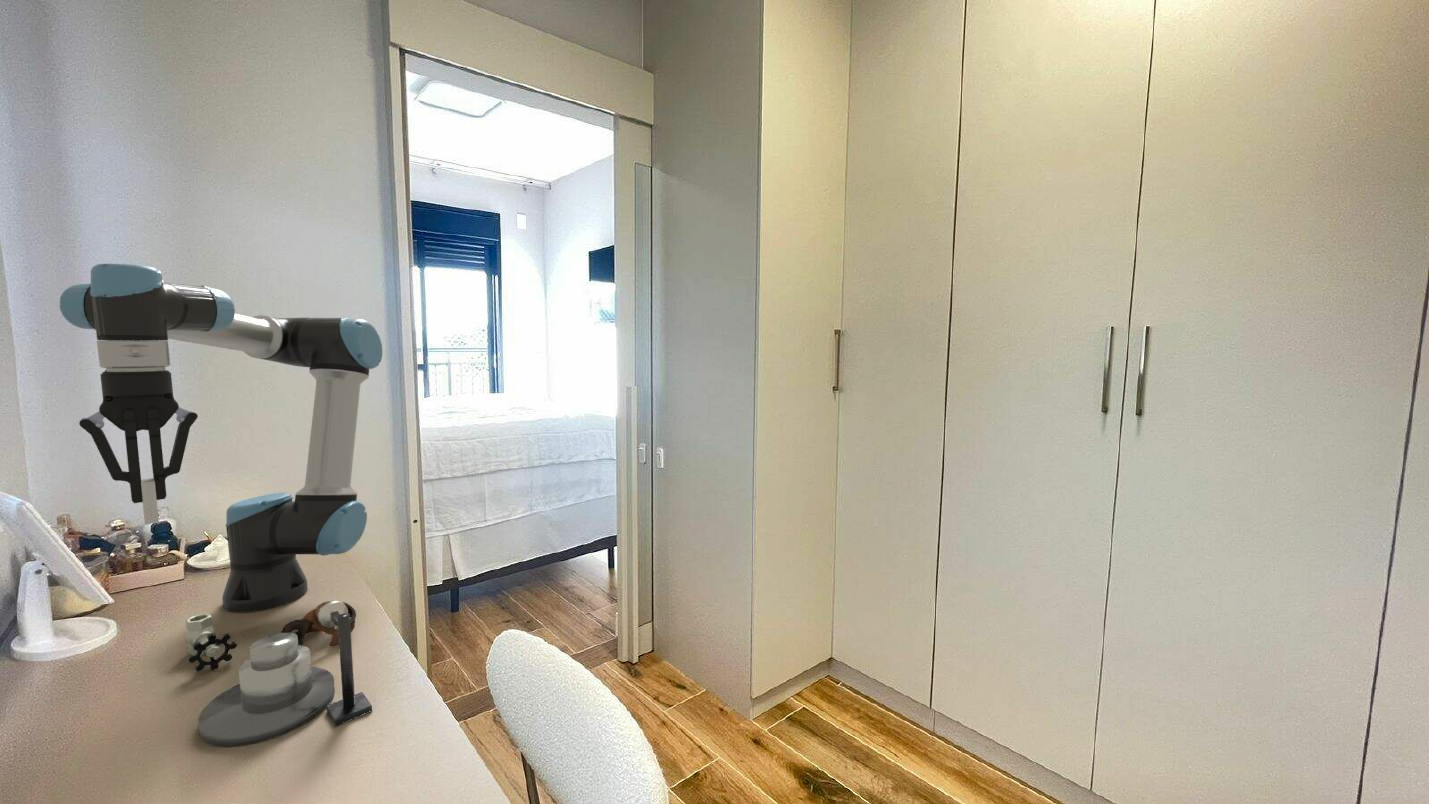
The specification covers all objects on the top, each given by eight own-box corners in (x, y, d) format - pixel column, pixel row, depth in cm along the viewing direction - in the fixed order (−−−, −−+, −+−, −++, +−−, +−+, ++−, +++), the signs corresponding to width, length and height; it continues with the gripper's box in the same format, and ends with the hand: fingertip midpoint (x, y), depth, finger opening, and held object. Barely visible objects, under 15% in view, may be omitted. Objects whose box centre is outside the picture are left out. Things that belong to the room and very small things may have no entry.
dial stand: (319, 698, 94) (313, 606, 92) (354, 685, 97) (348, 596, 96) (335, 726, 87) (328, 627, 85) (372, 711, 91) (366, 615, 89)
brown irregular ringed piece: (332, 625, 118) (350, 593, 118) (350, 658, 114) (369, 625, 113) (265, 636, 108) (284, 601, 107) (282, 673, 103) (302, 637, 102)
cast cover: (239, 694, 91) (235, 641, 90) (307, 672, 98) (304, 622, 97) (244, 722, 85) (239, 665, 84) (317, 696, 91) (313, 643, 90)
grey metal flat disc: (193, 709, 91) (192, 697, 90) (320, 666, 103) (319, 655, 103) (206, 765, 79) (205, 751, 79) (347, 708, 91) (347, 696, 91)
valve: (175, 654, 106) (190, 678, 99) (172, 621, 105) (187, 643, 98) (221, 640, 111) (238, 662, 104) (218, 608, 111) (235, 628, 103)
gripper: (70, 372, 79) (89, 537, 81) (197, 369, 88) (210, 517, 91) (72, 369, 84) (90, 525, 86) (192, 367, 93) (204, 507, 96)
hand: (151, 521), depth 89 cm, fingers closed
